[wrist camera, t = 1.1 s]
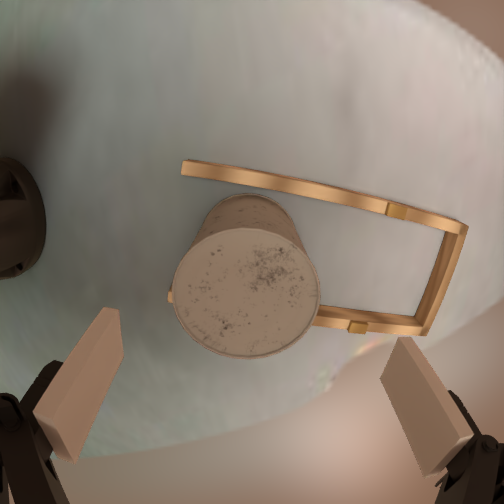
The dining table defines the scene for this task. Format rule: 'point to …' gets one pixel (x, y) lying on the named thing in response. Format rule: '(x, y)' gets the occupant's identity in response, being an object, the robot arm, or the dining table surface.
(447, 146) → the dining table surface
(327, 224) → the dining table surface
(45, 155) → the dining table surface
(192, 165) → the beam frame
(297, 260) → the speckled beige cylinder
